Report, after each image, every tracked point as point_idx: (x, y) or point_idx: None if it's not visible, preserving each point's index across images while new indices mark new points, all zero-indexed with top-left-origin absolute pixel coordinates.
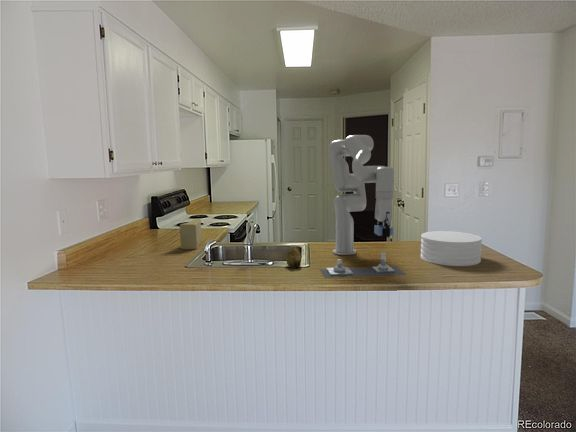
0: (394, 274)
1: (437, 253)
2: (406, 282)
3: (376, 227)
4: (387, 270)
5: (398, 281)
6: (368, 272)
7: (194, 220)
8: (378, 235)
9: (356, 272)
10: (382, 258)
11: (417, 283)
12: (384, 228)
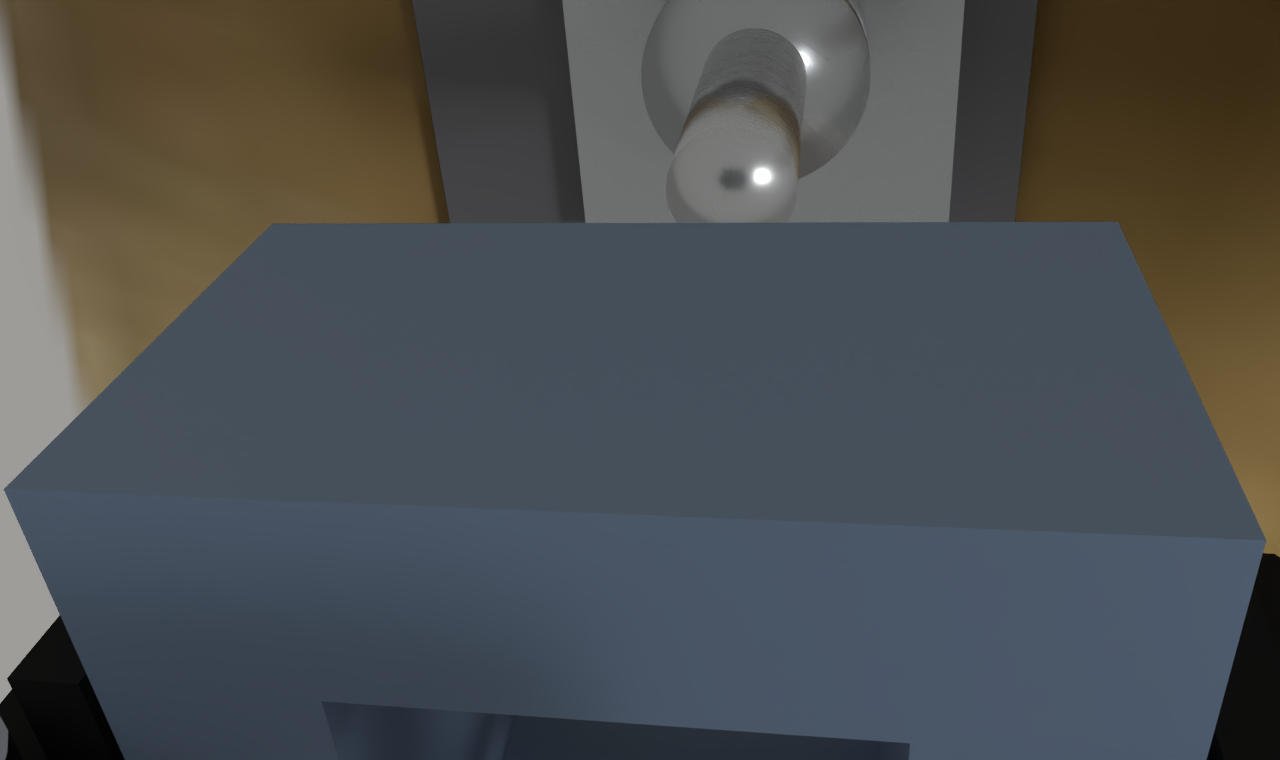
0: (470, 172)
1: None
2: (103, 222)
3: (610, 466)
4: (611, 101)
5: (134, 118)
6: None
7: None
8: (290, 227)
9: None
10: (694, 101)
11: (85, 352)
12: (62, 742)
